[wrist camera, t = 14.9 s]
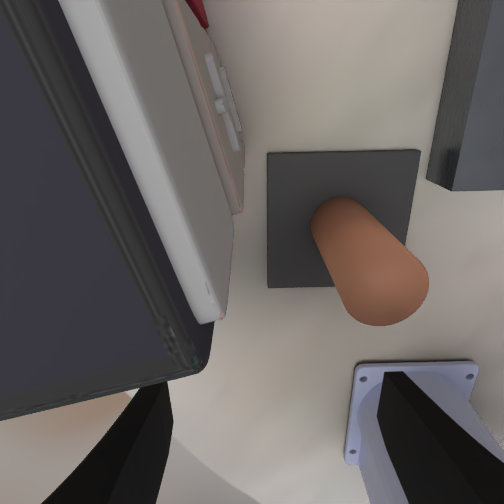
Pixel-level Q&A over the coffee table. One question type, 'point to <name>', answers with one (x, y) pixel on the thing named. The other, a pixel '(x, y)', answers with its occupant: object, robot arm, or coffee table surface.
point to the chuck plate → (472, 103)
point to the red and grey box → (111, 197)
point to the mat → (322, 189)
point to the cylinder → (368, 263)
